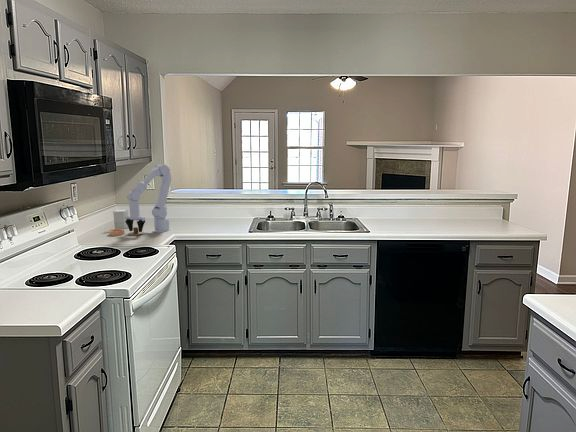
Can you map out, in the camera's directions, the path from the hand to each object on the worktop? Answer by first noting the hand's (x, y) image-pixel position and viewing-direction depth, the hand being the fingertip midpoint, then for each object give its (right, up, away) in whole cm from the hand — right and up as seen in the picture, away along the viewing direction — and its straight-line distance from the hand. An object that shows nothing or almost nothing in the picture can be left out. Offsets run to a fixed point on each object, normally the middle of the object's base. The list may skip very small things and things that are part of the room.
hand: (135, 231), depth 283 cm
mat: (0, -2, +1) cm, 3 cm away
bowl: (-13, -2, +2) cm, 13 cm away
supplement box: (-17, +1, +23) cm, 29 cm away
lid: (0, -2, 0) cm, 2 cm away
